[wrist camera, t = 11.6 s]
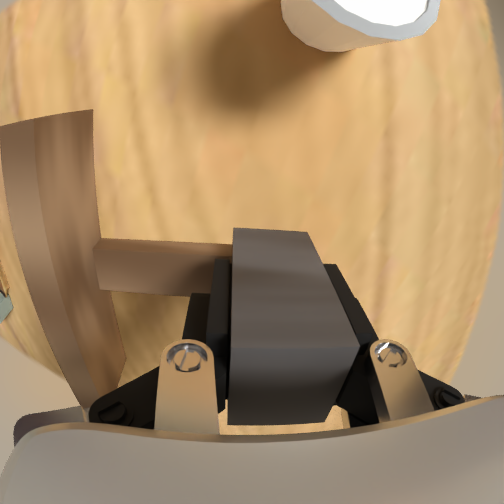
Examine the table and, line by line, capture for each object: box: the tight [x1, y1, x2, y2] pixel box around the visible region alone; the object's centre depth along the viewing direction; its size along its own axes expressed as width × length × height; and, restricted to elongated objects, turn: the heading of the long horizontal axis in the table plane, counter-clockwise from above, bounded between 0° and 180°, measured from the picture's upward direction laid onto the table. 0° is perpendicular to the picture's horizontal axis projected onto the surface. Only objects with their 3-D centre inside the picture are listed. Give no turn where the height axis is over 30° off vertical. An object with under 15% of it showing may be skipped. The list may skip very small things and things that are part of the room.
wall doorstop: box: [0, 109, 360, 425], centre depth 10 cm, size 13×10×6 cm
